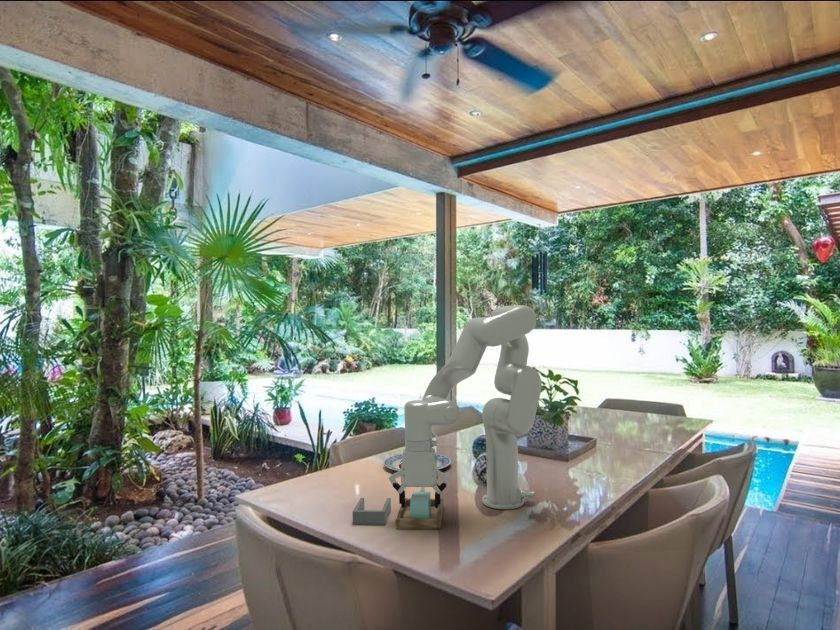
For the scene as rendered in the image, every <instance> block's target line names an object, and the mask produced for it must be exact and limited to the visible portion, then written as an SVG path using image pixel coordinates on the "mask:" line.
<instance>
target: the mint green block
mask: <svg viewBox="0 0 840 630" xmlns="http://www.w3.org/2000/svg"><path fill="white" fill-rule="evenodd" d="M425 489H426V487H420V489H419V490H420V491H413V492H412V494H411V500H410V518H421V519H430V515H431V498H432V495H431V491H426V490H425Z"/></svg>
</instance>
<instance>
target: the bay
mask: <svg viewBox="0 0 840 630" xmlns="http://www.w3.org/2000/svg"><path fill="white" fill-rule="evenodd" d="M391 499H392V498H391V497H387V498H386V500H385V502H384V505H383V506H382V509H381V510H376V509H375V510H372V509H370V510H365V497H360V499H359V500H358V502H357V504H356V505H355V507H354V508H353V510H352V525H373V526H374V525H380V526H382V525H383V526H384V525H386V523H387V520H388V518H389V516H390V513H391V510H392V503H391V501H392V500H391Z"/></svg>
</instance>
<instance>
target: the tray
mask: <svg viewBox="0 0 840 630" xmlns="http://www.w3.org/2000/svg"><path fill="white" fill-rule="evenodd" d="M440 499H441V503H440V504H438V508H435V498H432V497H431V515H430V519H421V518H410V500H411V498H410V497H409V498H407V497H405V506H404V508H402V507H401V506H400V507H399V510H398V512H397V516H396V518H395V529H396V530H436V529H437V531H438V530H441V528H442V522H443V514H444V498H440Z"/></svg>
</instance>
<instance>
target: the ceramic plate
mask: <svg viewBox="0 0 840 630" xmlns="http://www.w3.org/2000/svg"><path fill="white" fill-rule="evenodd" d="M402 454H403V453H400V454H396V455H393V456H390V457H388V458H386V459H385V460H384V461H383V465H384V466H385V467H386V468H387V469H390V470H393V471H395V472H398V471H400V470H401V464H402V463H401V462H402ZM436 459H437V470H439V471H440V470H442V469H444V468H447V467H448V466H450V465H451V463H452V460H451V458H449V457H448V456H446V455H443V454H439V453H436ZM399 462H400V463H401V464H399V465H398V466H399V468H400V469H398V468H396V464H397V463H399Z"/></svg>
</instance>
